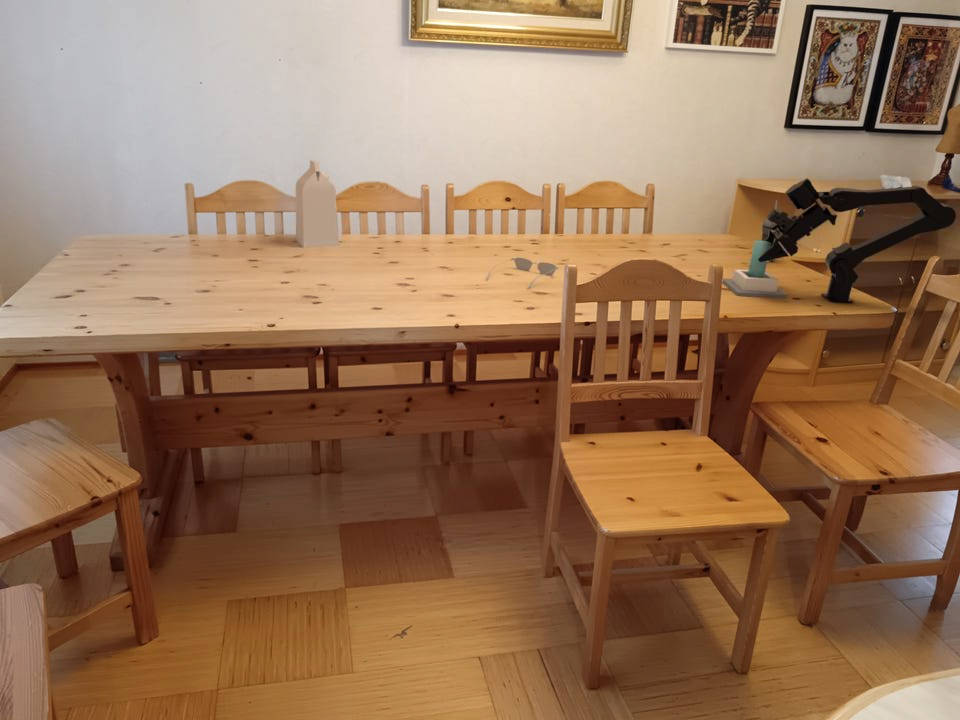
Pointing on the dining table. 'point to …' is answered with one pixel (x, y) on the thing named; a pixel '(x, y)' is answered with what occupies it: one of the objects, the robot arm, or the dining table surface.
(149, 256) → the dining table surface
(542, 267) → the eyeglasses
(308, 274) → the dining table surface
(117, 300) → the dining table surface
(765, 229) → the beverage cup
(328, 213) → the milk
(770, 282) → the socket block
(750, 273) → the peg
